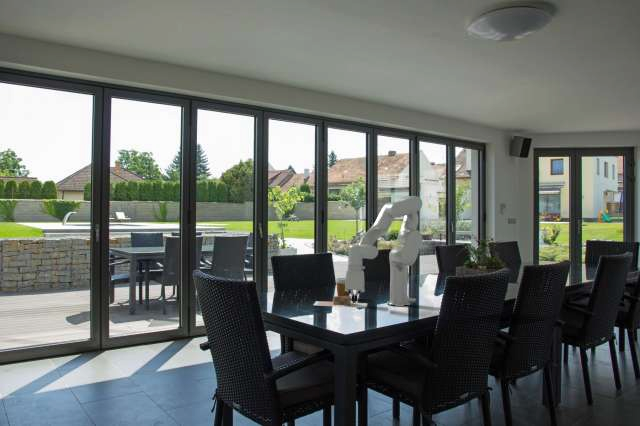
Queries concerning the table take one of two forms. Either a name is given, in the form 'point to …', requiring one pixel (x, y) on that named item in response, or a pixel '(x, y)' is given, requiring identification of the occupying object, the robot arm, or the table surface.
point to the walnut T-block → (342, 300)
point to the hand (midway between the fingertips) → (354, 302)
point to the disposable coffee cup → (341, 287)
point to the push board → (340, 305)
